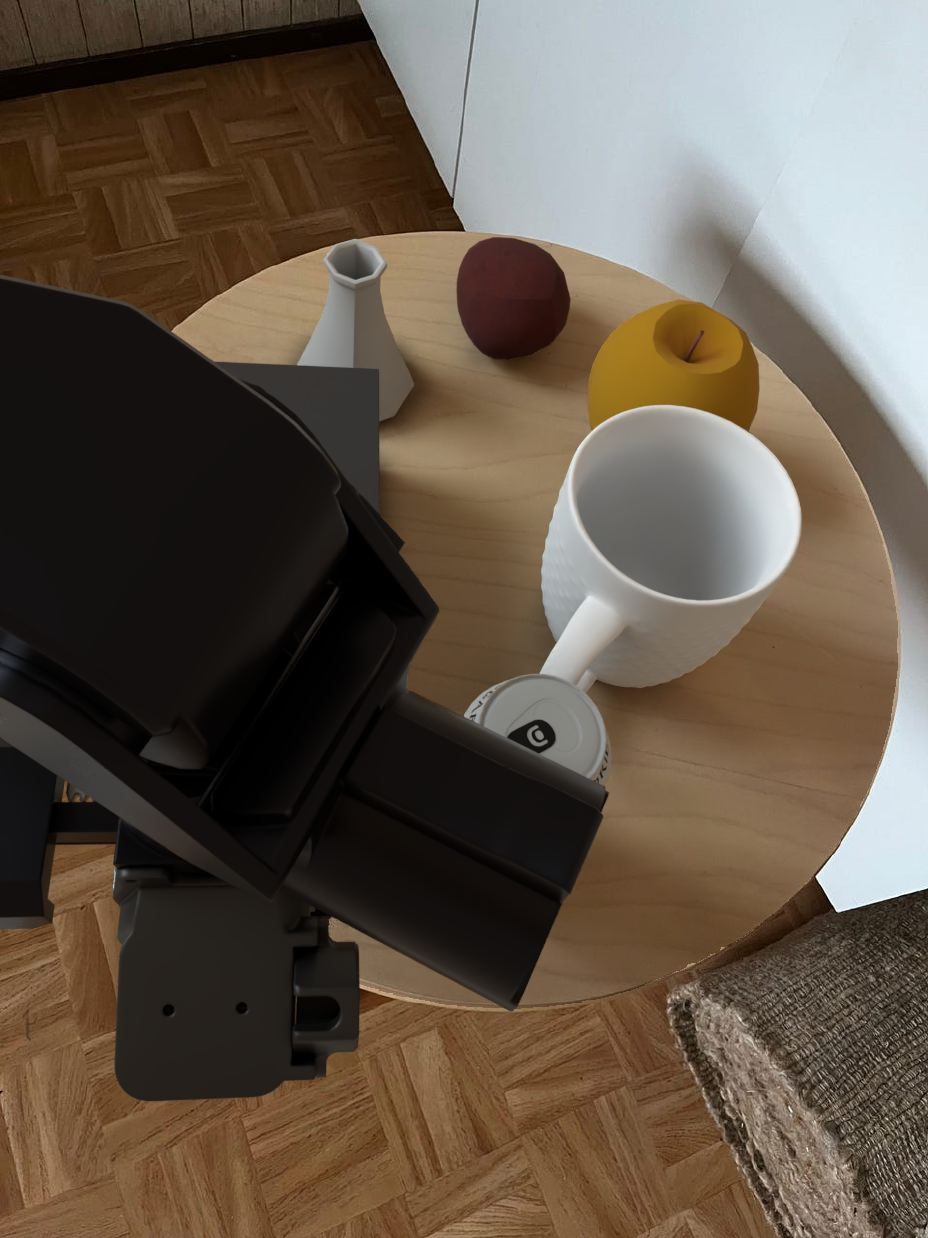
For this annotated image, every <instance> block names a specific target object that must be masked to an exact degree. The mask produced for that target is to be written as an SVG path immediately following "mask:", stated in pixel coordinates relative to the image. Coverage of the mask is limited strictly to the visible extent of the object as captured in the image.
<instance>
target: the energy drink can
mask: <svg viewBox="0 0 928 1238" xmlns="http://www.w3.org/2000/svg"><path fill="white" fill-rule="evenodd" d="M463 716H464V717H466V718H468V719H470V720H472V721H474V722H476V723H478V724H480V725H482V726H484V727H486V728H488V729H490V730H492V731H494V732H496V733H498V734H500V735H502V736H504V737H506V738H508V739H510V740H512V741H514V742H516V743H518V744H520V745H522V746H524V747H526V748H528V749H530V750H532V751H534V752H536V753H538V754H540V755H542V756H544V757H546V758H548V759H551V760H553V761H555V762H557V763H559V764H561V765H563V766H565V767H567V768H569V769H571V770H573V771H575V772H577V773H579V774H581V775H583V776H585V777H587V778H589V779H591V780H593V781H595V782H597V783H599V784H601V785H603V786H605V787H606V785H607V784H608V780H609V776H610V773H611V769H612V768H611V767H612V748H611V741H610V738H609V735H608V732H607V729H606V726H605V722H604V718H603V716H602V713H601V712H600V710H599V708H598V707H597V705H596V703H595V702H594V701H593V700H592V699H591V698H590V696H589V695H588V694H587V693H585V692H583V691H582V690H581V689H580V688H579V687H577V686H576V685H574V684H572V683H571V682H569V681H567V680H565V679H562V678H559V677H556V676H552V675H547V674H540V673H528V674H523V675H518V676H516V677H513V678H511V679H507V680H505V681H504V680H503V681H501V682H500V683H497V684H493V686H490V687H489V688H488V689H486V690H485V691H483V692H481V693H480V694H479V695H478V696H477V698H475V699H474V700H473V702H471V703H470V705H469V707H468V708H467V709H466V711H465V713H464V715H463Z"/></svg>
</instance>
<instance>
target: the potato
mask: <svg viewBox="0 0 928 1238" xmlns="http://www.w3.org/2000/svg"><path fill="white" fill-rule="evenodd" d="M455 291H456V304H457V305H456V306H457V312H458V315H459V318H460V321H461V324H462V327H463V329H464V331H465V333H466V335H467V337H468V338H469V340H470V341H471V343H472V344H473V345H474V347H476V348H477V350H479V351H480V352H481V353H482V354H483V355H485V356H487V357H489V358H491V359H493V360H501V361H512V360H516V359H520V358H526V357H530V356H531V357H532V356H534V355H535V354H537V353H539V352H540V351H542V350H544V349H546V348H547V347H549V346H551V345H552V344H553V342H554V341H555V340H556V339H557V338H558V337H559V335H560V334H561V333H562V332H563V330H564V329H565V327H566V325H567V322H568V317H569V313H570V309H571V308H570V307H571V300H572V299H571V294H570V291H569V287H568V283H567V279H566V275H565V272H564V270H563V268H561V266H560V265H559V264H558V262H557V261H556V259H555V258H554V257H553V255H552V254H551V253H550V252H548V251H546V250H545V249H543V248H542V247H540V246H539V245H537V244H536V243H532V242H529V241H525V240H522V239H519V238H515V237H505V236H504V237H501V236H495V237H494V236H492V237H488V238H485V239H481V240H480V241H478V242H476V243H475V244H474V245H472V246H471V247H469V248H468V250H467V251H466V253H465V255H464V256H463V258H462V260H461V263H460V266H459V267H458V272H457V278H456V289H455Z"/></svg>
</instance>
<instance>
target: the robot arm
mask: <svg viewBox="0 0 928 1238" xmlns="http://www.w3.org/2000/svg"><path fill="white" fill-rule="evenodd" d="M215 362H216V361H214V360H212V359H211V358H209V357H208V356H207V355H205V354H204V353H203V352H201V351H200V350H198V349H197V348H195V347H194V346H193V345H192V344H190V343H189V342H187V341H186V340H185V339H183V338H182V337H180V336H179V335H177V334H176V333H175V332H173V331H172V330H171V329H169V328H168V327H166V326H164V325H163V324H162V323H161V322H159V321H158V320H156V319H155V318H153V317H152V316H151V315H149V314H148V313H147V312H145V311H143V310H142V309H140V308H139V307H137V306H135V305H133V304H131V303H129V302H126V301H124V300H123V301H122V300H119V299H114V298H110V297H106V296H101V295H96V294H91V293H86V292H82V291H78V290H74V289H68V288H63V287H59V286H56V285H55V286H54V285H51V284H50V285H49V284H46V283H40V282H35V281H31V280H26V279H22V278H18V277H12V276H9V275H4V274H0V930H32V929H33V930H34V929H37V928H41V927H44V926H48V925H52V924H53V922H54V913H55V907H56V904H54V903H53V902H52V901H51V900H50V899H49V893H50V886H51V879H52V873H53V865H54V860H55V859H54V858H55V852H56V846H89V845H90V846H93V845H94V846H95V845H96V846H97V845H98V846H99V845H100V846H101V845H102V846H103V845H104V846H106V845H109V846H110V845H114V852H113V861H112V865H113V866H114V869H113V879H112V887H111V891H112V900H113V901H114V902H115V903H116V905H118V907H119V917H118V926H117V935H116V938H117V941H118V942H119V943H120V945H121V947H120V951H119V956H118V957H119V958H118V969H117V970H118V972H117V973H118V974H117V995H116V1015H115V1016H116V1017H115V1018H116V1019H115V1041H114V1042H115V1043H114V1064H113V1065H114V1074H115V1078H116V1082H117V1083H118V1085H119V1087H120V1088H121V1089H122V1091H123V1092H124V1093H126V1094H127V1095H128V1096H129V1097H131V1098H133V1099H135V1100H138V1101H142V1102H170V1101H196V1100H197V1101H198V1100H199V1101H200V1100H220V1099H221V1100H222V1099H246V1098H247V1099H249V1098H258V1097H263V1096H266V1095H269V1094H271V1093H272V1092H274V1091H275V1090H277V1089H278V1088H279V1087H280V1086H281V1085H282V1084H283V1083H284V1082H291V1081H292V1082H293V1081H294V1082H295V1081H314V1080H316V1078H317V1079H322V1078H323V1079H325V1078H327V1063H328V1062H327V1061H328V1059H329V1058H330V1056H331V1055H333V1054H336V1053H354V1052H356V1051H357V1049H358V1048H359V1040H360V1007H361V1006H360V1003H361V1002H360V996H361V995H360V994H361V991H360V990H361V989H360V988H361V986H360V985H361V984H360V983H361V982H360V949H359V947H360V946H359V944H358V943H357V942H356V941H335V940H334V939H333V938H332V937H331V936H330V919H331V918H333V919H335V920H337V921H339V922H341V923H342V924H344V925H347V926H348V927H349V928H352V929H354V930H355V931H357V932H359V933H361V934H363V935H365V936H367V937H369V938H371V939H373V940H374V941H377V942H378V943H380V944H382V945H384V946H386V947H388V948H390V949H391V950H393V951H395V952H397V953H399V954H401V955H403V956H405V957H406V958H409V959H410V960H412V961H414V962H415V963H417V964H419V965H421V966H423V967H425V968H427V969H429V970H431V971H433V972H435V973H437V974H439V975H440V976H443V977H444V978H446V979H448V980H450V981H451V982H454V983H456V984H457V985H459V986H462V987H463V988H465V989H467V990H469V991H471V992H473V993H474V994H477V995H478V996H480V997H482V998H484V999H486V1000H487V1001H489V1002H492V1003H493V1004H495V1005H497V1006H499V1007H500V1008H503V1009H504V1010H507V1011H509V1012H514V1011H515V1010H516V1009H517V1007H518V1006H519V1004H520V1002H521V1000H522V998H523V996H524V994H525V992H526V989H527V987H528V984H529V982H530V980H531V977H532V975H533V973H534V972H535V971H534V970H535V968H536V966H537V963H538V962H539V959H540V957H541V955H542V952H543V950H544V948H545V945H546V942H547V940H548V938H549V936H550V934H551V932H552V928H553V927H554V925H555V922H556V920H557V917H558V915H559V912H560V910H561V907H562V906H563V903H564V902H565V901H566V899H568V897H569V896H571V894H572V892H573V890H574V887H575V885H576V883H577V881H578V878H579V876H580V873H581V872H582V869H583V866H584V864H585V862H586V859H587V857H588V855H589V852H590V850H591V848H592V845H593V843H594V841H595V838H596V836H597V834H598V831H599V829H600V827H601V824H602V822H603V819H604V814H603V813H602V811H603V810H604V808H605V805H606V803H607V801H608V798H609V796H610V791H608V790H606V789H607V788H606V785H605V786H603V785H601V784H599V783H597V782H595V781H593V780H591V779H589V778H587V777H585V776H583V775H581V774H579V773H577V772H575V771H573V770H571V769H569V768H567V767H565V766H563V765H561V764H559V763H557V762H555V761H553V760H551V759H548V758H546V757H544V756H542V755H540V754H538V753H536V752H534V751H532V750H530V749H528V748H526V747H524V746H522V745H520V744H518V743H516V742H514V741H512V740H510V739H508V738H506V737H504V736H502V735H500V734H498V733H496V732H494V731H492V730H490V729H488V728H486V727H484V726H482V725H480V724H478V723H476V722H474V721H472V720H470V719H468V718H466V717H464V715H461V714H460V713H458V712H455V711H454V710H451V709H450V708H448V707H446V706H443V705H442V704H439V703H438V702H435V701H433V700H432V699H430V698H427V697H425V696H424V695H422V694H419V693H417V692H415V691H413V690H412V689H409V688H408V680H409V673H410V667H411V663H412V661H413V659H414V657H415V656H416V654H417V652H418V650H419V649H420V647H421V645H422V644H423V642H424V640H425V638H426V637H427V635H428V633H429V632H430V629H431V628H432V626H433V625H434V623H435V622H436V620H437V617H438V616H439V614H440V612H441V609H440V607H439V605H438V604H437V602H436V601H435V599H434V598H433V596H432V595H431V594H430V592H429V591H428V590H427V588H426V586H425V585H424V584H423V583H422V582H421V580H420V579H419V577H418V576H417V574H416V573H415V572H414V571H413V569H412V568H411V567H410V565H409V563H408V562H407V560H405V558H404V557H403V555H402V554H401V551H402V549H403V548H404V546H405V544H406V541H405V540H403V538H402V537H401V536H400V535H399V534H398V533H397V532H396V531H395V529H394V528H393V527H392V526H391V524H389V523H388V522H387V520H385V519H384V517H383V516H382V515H381V513H380V514H379V513H378V512H377V511H376V510H375V509H374V508H373V507H372V506H371V505H370V503H369V502H368V501H367V500H366V499H365V498H364V497H363V496H362V495H361V494H360V493H359V491H358V490H357V489H356V488H355V487H354V486H353V485H352V484H351V483H350V482H349V481H348V479H347V478H346V477H345V476H344V475H343V474H342V473H341V471H340V470H339V468H338V467H337V466H336V464H335V463H334V461H333V460H332V459H331V457H330V456H329V455H328V453H327V452H326V450H325V449H324V448H323V446H322V445H321V444H320V442H319V441H318V439H317V438H316V437H315V435H314V434H313V433H312V432H311V431H310V430H309V429H308V427H307V426H306V425H305V424H304V423H303V422H302V421H301V419H300V418H299V417H298V416H297V415H296V414H295V413H293V412H292V411H291V410H290V409H288V408H287V407H286V406H285V405H284V404H282V403H281V402H280V401H279V400H277V399H276V398H275V397H273V396H272V395H270V394H268V393H266V391H265V390H264V389H262V388H261V387H259V386H257V385H254V384H250V383H248V382H245V381H242V380H239V379H238V378H236V377H235V376H233V375H232V374H231V373H229V372H228V371H226V370H225V369H224V368H222V367H221V366H219V365H218V364H217V363H215ZM328 580H330V581H331V582H332V583H333V584H335V585H336V586H337V588H336V589H335V591H334V592H333V594H332V595H331V597H330V599H329V600H328V602H327V603H326V605H325V606H324V608H323V609H322V611H321V612H320V614H319V616H318V617H317V619H316V620H315V622H314V623H313V625H312V626H311V628H310V629H309V631H308V633H307V634H306V636H305V637H304V639H303V640H302V642H300V640H299V638H298V635H297V633H296V632H295V630H296V629H297V627H298V626H299V624H300V623H301V621H302V620H303V618H304V616H305V615H306V613H307V612H308V610H309V609H310V607H311V606H312V604H313V603H314V601H315V600H316V598H317V597H318V595H319V594H320V592H321V591H322V589H323V587H324V586H325V584H326V583H327V581H328ZM66 783H67V785H66V791H65V795H66V799H67V801H63V797H64V790H65V784H66ZM78 797H79V801H76V800H77V798H78ZM89 798H91V801H88V800H89Z"/></svg>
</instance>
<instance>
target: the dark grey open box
mask: <svg viewBox="0 0 928 1238" xmlns="http://www.w3.org/2000/svg"><path fill="white" fill-rule="evenodd" d="M214 362H215V363H217V364H218V365H219V366H221V367H222V368H224V369H225V370H226V371H228V372H229V373H231V374H232V375H233V376H235V377H236V378H238V379H239V380H242V381H245V382H248V383H250V384H254V385H257V386H259V387H261V388H262V389H264V390H265V391H266V393H268V394H270V395H272V396H273V397H275V398H276V399H277V400H279V401H280V402H281V403H282V404H284V405H285V406H286V407H287V408H288V409H290V410H291V411H292V412H293V413H295V414H296V415H297V416H298V417H299V418H300V419H301V421H302V422H303V423H304V424H305V425H306V426H307V427H308V429H309V430H310V431H311V432H312V433H313V434H314V435H315V437H316V438H317V439H318V441H319V442H320V444H321V445H322V446H323V448H324V449H325V450H326V452H327V453H328V455H329V456H330V457H331V459H332V460H333V461H334V463H335V464H336V466H337V467H338V468H339V470H340V471H341V473H342V474H343V475H344V476H345V477H346V478H347V479H348V481H349V482H350V483H351V484H352V485H353V486H354V487H355V488H356V489H357V490H358V491H359V493H360V494H361V495H362V496H363V497H364V498H365V499H366V500H367V501H368V502H369V503H370V505H371V506H372V507H373V508H374V509H375V510H376V511H377V512H378V513H379V514H380V515H381V513H380V511H381V502H380V501H381V494H380V492H381V491H380V489H381V488H380V482H381V481H380V478H381V477H380V476H381V475H380V473H381V471H380V421H379V369H370V368H348V367H326V366H303V365H297V364H281V363H280V364H279V363H260V362H259V363H255V362H238V361H237V362H236V361H235V362H234V361H214ZM326 584H333V583H332V582H331V581H330V580H328V581H327V583H326Z"/></svg>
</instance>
